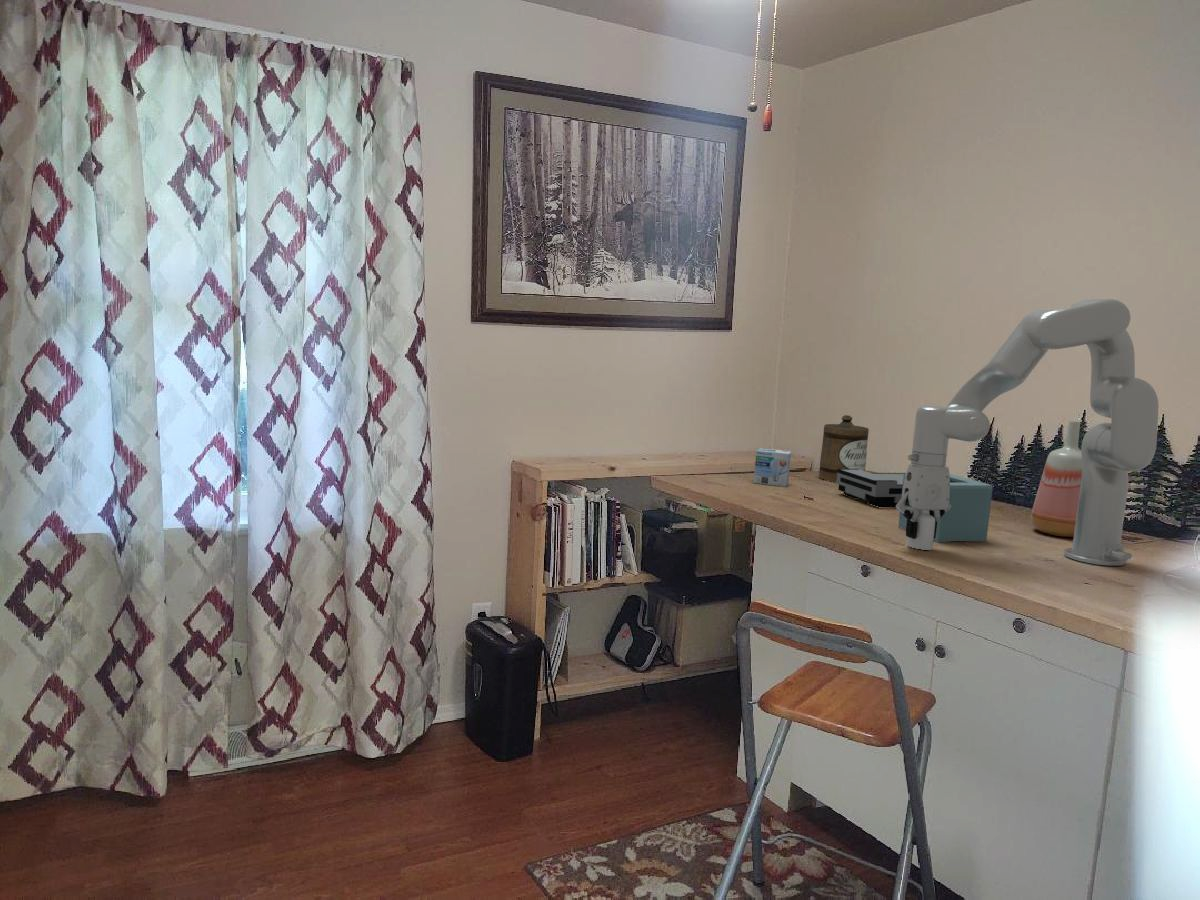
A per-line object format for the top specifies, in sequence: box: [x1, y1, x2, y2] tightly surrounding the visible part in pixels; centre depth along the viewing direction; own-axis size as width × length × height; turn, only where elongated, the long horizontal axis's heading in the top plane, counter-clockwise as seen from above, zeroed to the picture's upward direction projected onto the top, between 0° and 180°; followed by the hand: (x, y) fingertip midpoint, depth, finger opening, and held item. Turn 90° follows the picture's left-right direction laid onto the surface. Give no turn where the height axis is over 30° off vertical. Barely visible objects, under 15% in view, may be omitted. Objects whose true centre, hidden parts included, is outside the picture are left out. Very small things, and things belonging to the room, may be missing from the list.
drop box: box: [898, 473, 994, 543], centre depth 224 cm, size 16×14×14 cm
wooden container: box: [818, 414, 870, 483], centre depth 301 cm, size 15×15×22 cm
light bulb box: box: [753, 447, 792, 488], centre depth 286 cm, size 11×7×11 cm, turn 73°
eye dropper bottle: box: [906, 510, 935, 551], centre depth 208 cm, size 4×6×12 cm
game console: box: [835, 469, 906, 508], centre depth 269 cm, size 21×32×8 cm, turn 107°
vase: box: [1030, 420, 1082, 538], centre depth 231 cm, size 14×14×30 cm
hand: (920, 536), depth 208 cm, fingers closed on eye dropper bottle, 4 cm apart
